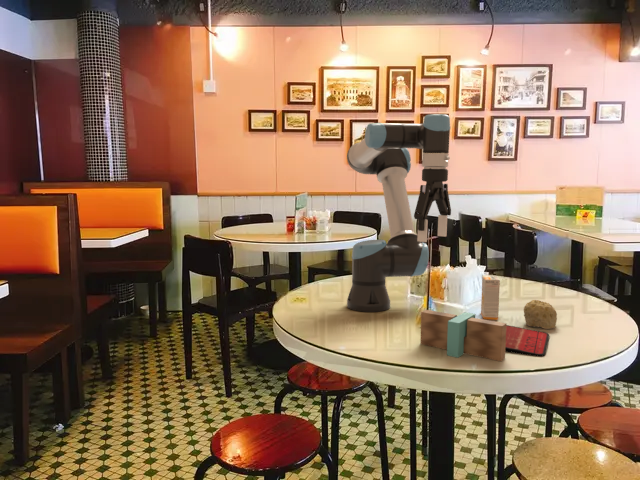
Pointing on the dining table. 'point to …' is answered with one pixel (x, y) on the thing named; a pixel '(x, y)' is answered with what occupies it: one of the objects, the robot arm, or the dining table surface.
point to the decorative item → (540, 314)
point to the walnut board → (479, 341)
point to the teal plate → (457, 334)
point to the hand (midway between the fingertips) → (432, 238)
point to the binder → (526, 341)
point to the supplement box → (490, 297)
